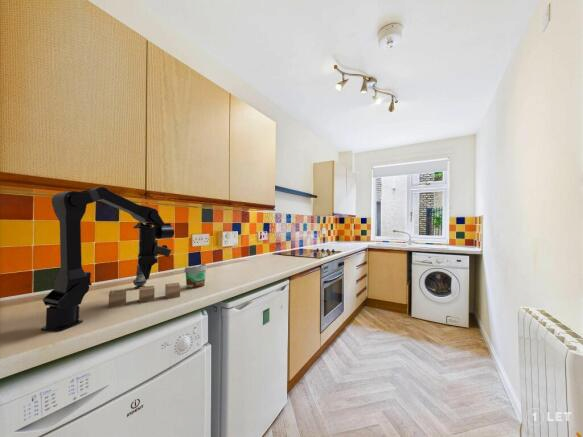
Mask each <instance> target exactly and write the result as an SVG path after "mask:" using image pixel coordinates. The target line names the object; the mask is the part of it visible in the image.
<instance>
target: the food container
mask: <svg viewBox="0 0 583 437" xmlns="http://www.w3.org/2000/svg"><path fill="white" fill-rule="evenodd" d="M207 270H208V266H207V264H205V263H201V265H198V266H197V265H196V266H195V265H194V266H192V267H190V266H189V267H184V273H185V282H186V283H185V284H186V286H185V287H186V289H191V290H193V289H199V288H204V287H205V282H206V271H207Z"/></svg>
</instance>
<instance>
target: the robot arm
mask: <svg viewBox="0 0 583 437" xmlns="http://www.w3.org/2000/svg"><path fill="white" fill-rule="evenodd" d="M96 202H102V203H104V204H107V205H109V206H111V207H113V208H116V209H118V210H120V211H122V212H125V213H127V214H129V215H130V216H131V217H132V218H133V219H134V220H136V221H137V224H136V225H134V226H132V228H133V229H138V254H137V265H139V266H140V269H141V271H142V273H143V275H144V278H145V279H147V280H149V279H150V274H151V271H152V267H153V266H154V265H156V264H158V263H159V262H158V260H159V258H158V255H159V256H164V257H166V258H169V257H170V255H171V253H172V249H171V248H168V245H165V244H162V245H158V243H157V242H156V241H157V240H162V239H163V240H164V239H166V240H167V239H172V238H174V235H175V229H174V227H173V226H172V225H171V224H172V223H171V222H164V221H163V220H164V219H163V218H162V217H161V216H160V214H159V211H158V210H157V209H156V208H153V207H150V206H147V205H143V204H142V205H141V204H137V203H136V202H134V201H132V200H129V199H127V198H125V197H123V196H122V195H119V194H117V193H116V192H113V191H112V190H110V189H108V188H107V187H104V186H97V187H92V188H90V189H85V190H80V191H77V190H72V191H70V190H69V191H63V192H62V191H61V192H58V193H56V194H54V195H53V196H52V197H51V204H52V209H53V213H54V215H55V216H56V218H57V220H58V221H59V244H60V246H59V247H60V248H59V251H60V252H59V253H60V254H59V255H60V257H59V258H60V269H59V272H58V274H57V275H56V277H55V282H54V285H53V286H54V287H53V289H51V291H50V292H49V293H47V295H45V296H44V297H43V299H42V301H43V304H44V306H49V307H46V310H45V315H46V316H45V326H44V327H43V326H42V327H41V328H40V331H55V332H61V331H64V330H67V329H68V328H71V327H74V326H76V325H78V324H79V325H80V323H83V319H80V305H81V304H82V302H83V300H84V297H85V295H86V294H87V293H89V290H90V286H92V285H93V284H92V282H91V277H92V276H91V275H92V272H90V271H85V270H84V269H83V264H82V263H83V262H82V260H83V259H82V258H83V257H82V224H81V221H82V219H83V217H84V216H85V214H86V210H87V206H88V205H89V204H92V203H96Z"/></svg>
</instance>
